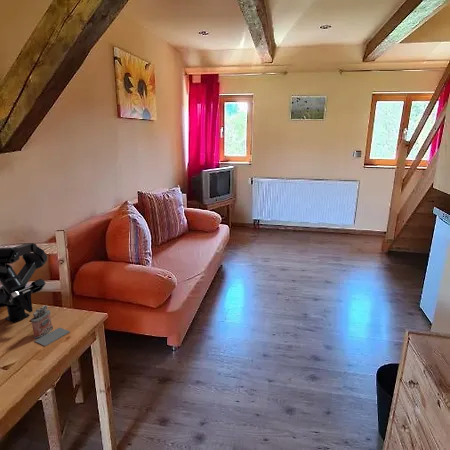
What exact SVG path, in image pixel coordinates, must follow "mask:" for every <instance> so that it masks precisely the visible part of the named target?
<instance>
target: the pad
mask: <svg viewBox="0 0 450 450" xmlns="http://www.w3.org/2000/svg"><path fill="white" fill-rule="evenodd" d="M70 333H71V331H70V330H67V329H64V328H63V327H60V326H59V327H56V328H55V329H54V330H51V331H50V332H49V333H48V334H46V335H45V336H43V337H41V338H39V339H34V342H35V343H36V344H39V345H42V346H43V347H47V346H49V345H51V344H52V343H54V342H55V341H58V340H59V339H61V338H63V337H64V336H66V335H67V334H70Z"/></svg>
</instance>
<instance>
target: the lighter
mask: <svg viewBox="0 0 450 450" xmlns="http://www.w3.org/2000/svg"><path fill="white" fill-rule="evenodd" d="M32 315H33V317H32V318H31V319H30V323H31V326H32V331H33V332H32V333H33V339H34V340H37V339H39V338H41V337H43V336H45V335H46V334H48V333H50V332H52V331H53V329H54V326H53V324H52V318H51V310H50V309H48V305H46V304H45V305H43V306H41V307H40V308H36V310H35V311H33V313H32Z"/></svg>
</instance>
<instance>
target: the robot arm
mask: <svg viewBox="0 0 450 450" xmlns="http://www.w3.org/2000/svg"><path fill="white" fill-rule="evenodd" d="M20 257H21V258H22V260H23V261H24V265H22V267H21V269H20V270H19V272H18V273H16V272H15V270H14V269H13V266H11V264H12V265H13V264H14V263H16V262H17V261H19V260H20ZM47 262H48V255H47V254H46V251H45V250H44V249H43V248H40V247H38V245H37V243H34V242H29V243H28V242H26V243H25V242H24V243H22V244H20V245H16V246H13V247H0V284H1V285H2V286H1V287H0V308H3V307H6V310H7V316H5V317H4V319H5V320H6V321H8V322H11V323H13V324H15V323H17V322H19V321H22V320H23V319H26V318H27V317H29V316H30V314H29V313H32V312H34V311H33V304H32V303H33V302H32V294H36V293H37V292H41V291H42V290H43V289H44V287H45V285H46V284H47V283H46V282H45V280H44V279H43V278H39V279H37V280H34V281H32V282H31V284H30V285H29V286H27V284H28V283H29V281H30V280H31V278H32V277H33V275H34V273H35V272H36V270H37V269H40V268H42V267H43V266H44V265H45V264H46V263H47ZM27 312H28V313H27Z"/></svg>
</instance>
